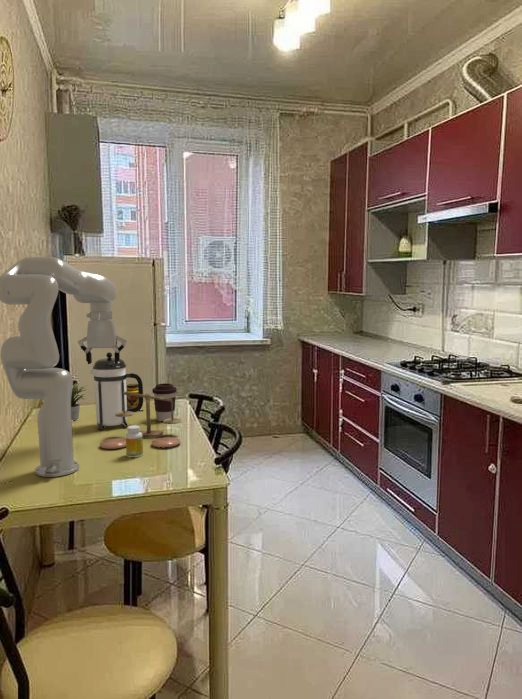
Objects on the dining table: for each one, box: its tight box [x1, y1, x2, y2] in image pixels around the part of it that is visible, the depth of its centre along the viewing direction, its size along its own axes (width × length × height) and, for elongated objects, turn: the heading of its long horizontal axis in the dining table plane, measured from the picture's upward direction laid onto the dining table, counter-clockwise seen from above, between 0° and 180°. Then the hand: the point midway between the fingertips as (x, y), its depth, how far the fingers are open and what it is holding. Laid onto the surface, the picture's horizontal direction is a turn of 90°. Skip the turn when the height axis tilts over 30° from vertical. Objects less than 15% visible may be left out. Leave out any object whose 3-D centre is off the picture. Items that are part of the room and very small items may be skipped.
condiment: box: [126, 383, 139, 409], centre depth 239 cm, size 7×8×12 cm
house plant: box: [71, 382, 89, 421], centre depth 221 cm, size 14×14×16 cm
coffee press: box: [89, 351, 144, 431], centre depth 211 cm, size 17×16×30 cm
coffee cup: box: [151, 382, 177, 422], centre depth 221 cm, size 10×10×15 cm
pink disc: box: [99, 437, 126, 450], centre depth 186 cm, size 10×10×1 cm
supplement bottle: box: [125, 424, 144, 458], centre depth 175 cm, size 5×5×10 cm
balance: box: [115, 392, 182, 439], centre depth 197 cm, size 24×7×17 cm, turn 93°
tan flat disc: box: [151, 436, 182, 449], centre depth 187 cm, size 10×10×1 cm
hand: (103, 363), depth 193 cm, fingers open, 9 cm apart
